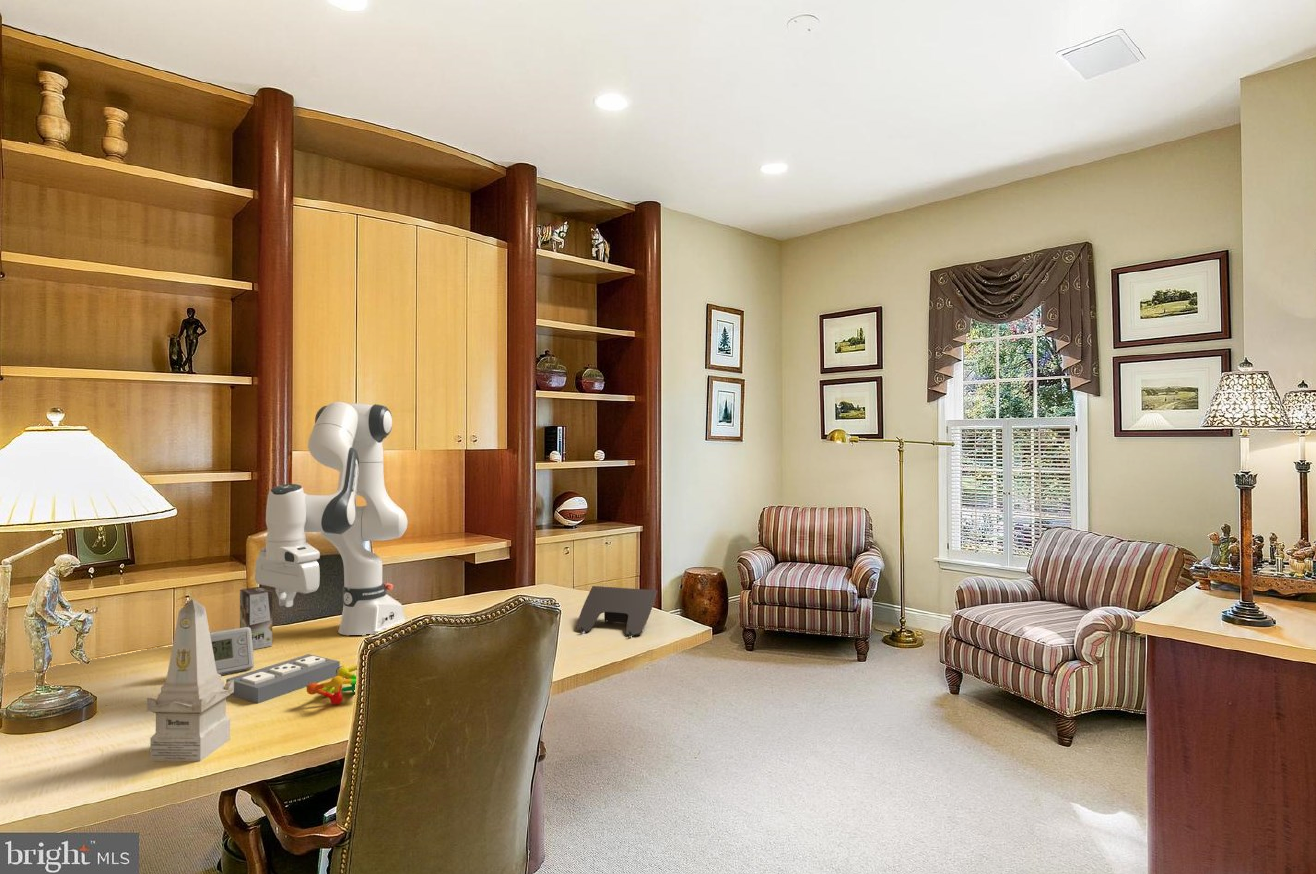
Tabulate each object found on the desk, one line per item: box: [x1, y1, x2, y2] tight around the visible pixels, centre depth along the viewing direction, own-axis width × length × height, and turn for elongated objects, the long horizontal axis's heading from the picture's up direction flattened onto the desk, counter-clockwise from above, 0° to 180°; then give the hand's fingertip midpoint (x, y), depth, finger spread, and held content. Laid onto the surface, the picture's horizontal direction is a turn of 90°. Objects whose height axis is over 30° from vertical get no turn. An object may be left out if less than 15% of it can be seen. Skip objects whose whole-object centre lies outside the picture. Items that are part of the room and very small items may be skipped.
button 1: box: [242, 672, 275, 684], centre depth 172 cm, size 5×5×3 cm
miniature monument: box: [145, 598, 234, 762], centre depth 141 cm, size 10×10×30 cm
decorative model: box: [306, 664, 358, 706], centre depth 169 cm, size 13×9×15 cm
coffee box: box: [239, 586, 273, 651], centre depth 208 cm, size 9×6×16 cm
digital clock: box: [210, 627, 255, 677], centre depth 185 cm, size 16×9×11 cm, turn 120°
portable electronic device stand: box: [576, 585, 658, 638], centre depth 234 cm, size 23×23×9 cm
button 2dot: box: [295, 655, 325, 667], centre depth 184 cm, size 5×5×3 cm
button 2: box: [269, 664, 301, 675], centre depth 178 cm, size 5×5×3 cm
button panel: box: [225, 653, 341, 704], centre depth 178 cm, size 22×12×4 cm, turn 153°
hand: (286, 606), depth 178 cm, fingers closed
